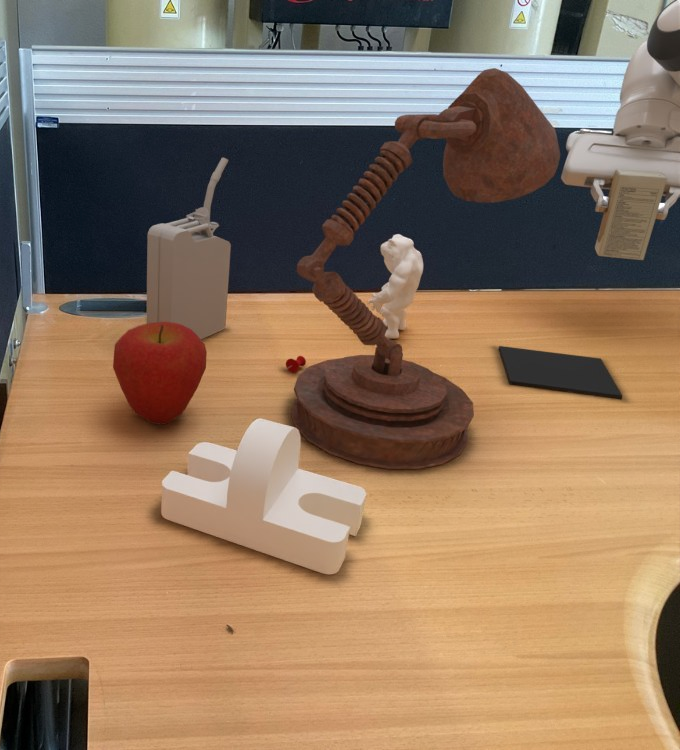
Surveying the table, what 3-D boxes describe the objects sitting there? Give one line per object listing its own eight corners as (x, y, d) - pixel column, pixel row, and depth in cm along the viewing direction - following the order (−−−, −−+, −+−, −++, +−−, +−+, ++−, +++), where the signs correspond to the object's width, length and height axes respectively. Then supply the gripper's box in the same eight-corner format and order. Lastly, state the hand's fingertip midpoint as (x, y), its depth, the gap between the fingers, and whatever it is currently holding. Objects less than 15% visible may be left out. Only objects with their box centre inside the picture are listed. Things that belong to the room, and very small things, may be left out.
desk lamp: (546, 429, 92) (649, 77, 74) (342, 499, 78) (408, 82, 60) (420, 361, 108) (479, 59, 90) (231, 408, 94) (257, 60, 76)
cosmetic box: (638, 253, 115) (664, 171, 109) (643, 261, 111) (670, 177, 105) (591, 247, 116) (614, 167, 111) (595, 256, 113) (619, 172, 107)
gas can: (211, 315, 121) (219, 155, 110) (235, 324, 118) (247, 160, 107) (144, 342, 111) (146, 169, 100) (169, 353, 108) (175, 175, 97)
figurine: (400, 349, 112) (418, 251, 105) (357, 339, 115) (371, 243, 108) (418, 326, 120) (436, 233, 113) (377, 317, 123) (392, 226, 116)
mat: (599, 361, 110) (600, 358, 110) (621, 398, 100) (622, 395, 100) (498, 348, 113) (499, 345, 113) (509, 383, 103) (510, 380, 103)
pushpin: (290, 378, 102) (291, 365, 101) (277, 373, 103) (278, 360, 102) (306, 369, 105) (308, 356, 104) (294, 364, 106) (295, 351, 105)
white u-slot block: (335, 577, 67) (350, 482, 62) (156, 516, 74) (158, 426, 70) (363, 519, 75) (379, 430, 70) (199, 468, 82) (204, 384, 77)
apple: (134, 389, 98) (135, 301, 92) (214, 405, 95) (219, 315, 89) (98, 430, 88) (96, 335, 83) (185, 449, 85) (189, 351, 80)
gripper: (573, 114, 115) (556, 192, 111) (731, 127, 108) (719, 211, 104) (565, 140, 120) (549, 215, 117) (715, 154, 113) (702, 234, 110)
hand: (630, 213), depth 110 cm, fingers closed on cosmetic box, 6 cm apart
